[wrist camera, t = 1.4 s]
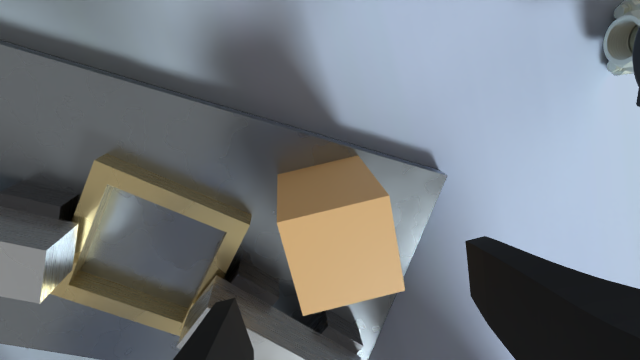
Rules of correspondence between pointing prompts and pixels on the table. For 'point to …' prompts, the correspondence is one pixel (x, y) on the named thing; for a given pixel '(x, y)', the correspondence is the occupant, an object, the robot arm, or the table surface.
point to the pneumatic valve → (624, 41)
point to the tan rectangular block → (338, 235)
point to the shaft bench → (163, 218)
